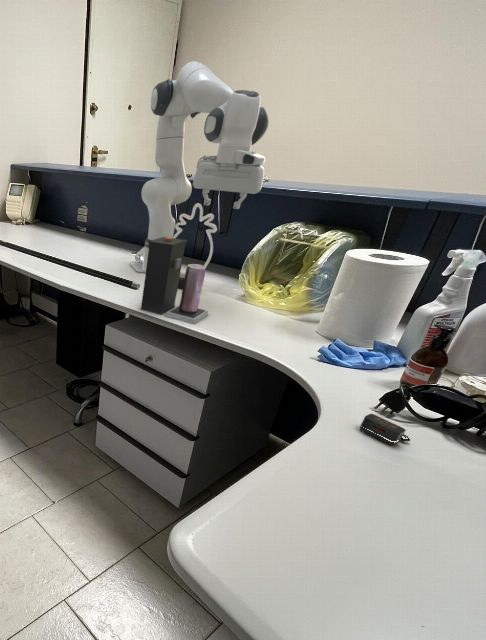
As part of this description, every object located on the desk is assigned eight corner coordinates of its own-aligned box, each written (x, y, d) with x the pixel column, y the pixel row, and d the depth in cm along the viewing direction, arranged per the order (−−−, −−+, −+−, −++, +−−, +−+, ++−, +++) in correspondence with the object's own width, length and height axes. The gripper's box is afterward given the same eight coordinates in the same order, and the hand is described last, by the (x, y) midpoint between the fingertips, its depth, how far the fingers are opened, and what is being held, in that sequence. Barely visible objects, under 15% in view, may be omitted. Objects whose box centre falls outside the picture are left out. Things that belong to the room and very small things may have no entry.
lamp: (204, 285, 170) (221, 203, 154) (205, 291, 163) (223, 205, 147) (163, 281, 174) (176, 201, 158) (162, 287, 167) (175, 203, 151)
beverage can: (187, 306, 141) (196, 263, 134) (201, 311, 137) (210, 267, 129) (175, 309, 139) (183, 265, 131) (188, 314, 134) (197, 269, 127)
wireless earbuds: (396, 449, 77) (404, 436, 76) (357, 429, 83) (363, 416, 81) (409, 442, 79) (417, 429, 78) (370, 423, 85) (376, 410, 83)
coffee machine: (139, 309, 143) (148, 238, 131) (154, 301, 151) (164, 234, 139) (194, 323, 132) (209, 247, 120) (207, 314, 139) (223, 242, 127)
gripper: (194, 155, 125) (185, 204, 132) (264, 158, 113) (250, 211, 120) (203, 155, 129) (194, 202, 136) (271, 158, 117) (257, 209, 124)
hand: (221, 206), depth 128 cm, fingers open, 8 cm apart
